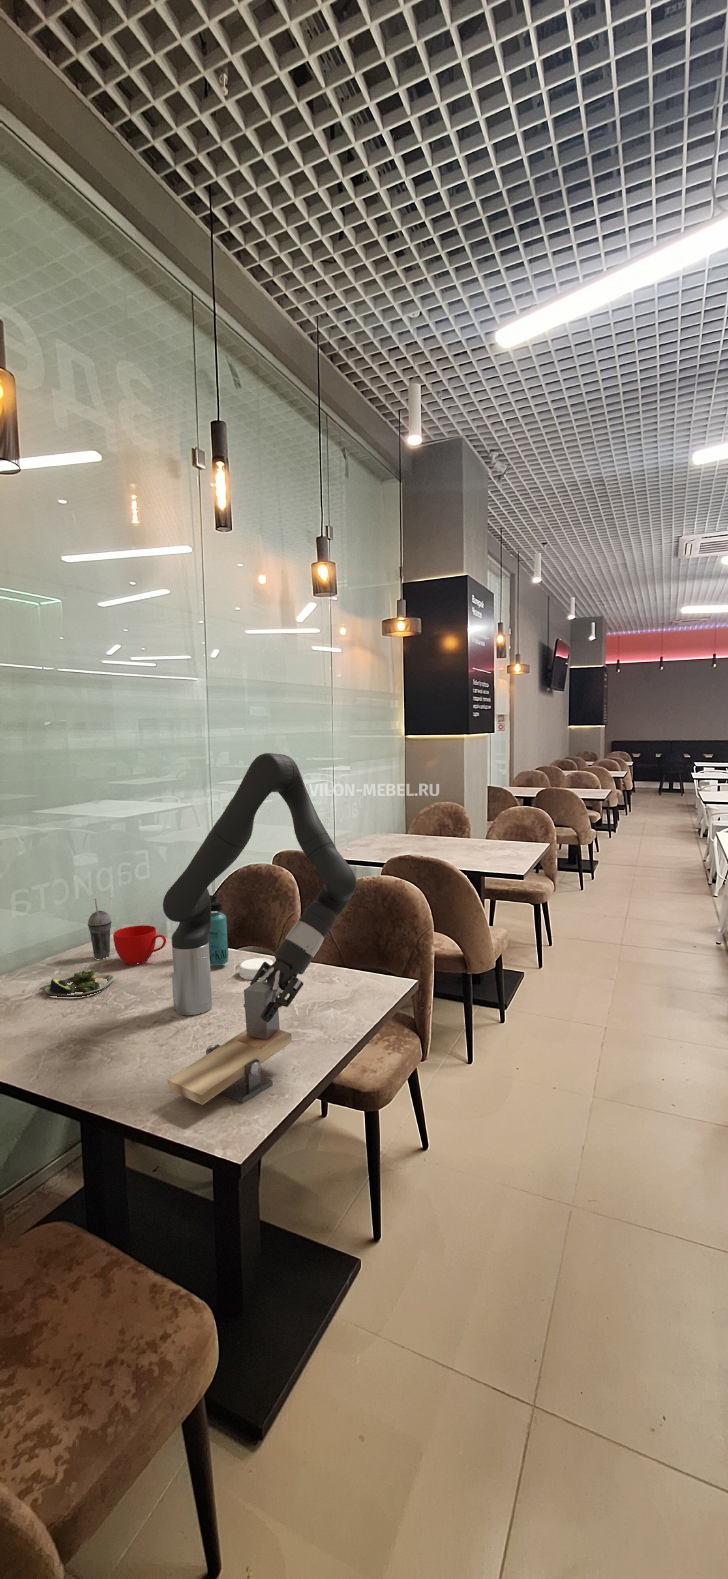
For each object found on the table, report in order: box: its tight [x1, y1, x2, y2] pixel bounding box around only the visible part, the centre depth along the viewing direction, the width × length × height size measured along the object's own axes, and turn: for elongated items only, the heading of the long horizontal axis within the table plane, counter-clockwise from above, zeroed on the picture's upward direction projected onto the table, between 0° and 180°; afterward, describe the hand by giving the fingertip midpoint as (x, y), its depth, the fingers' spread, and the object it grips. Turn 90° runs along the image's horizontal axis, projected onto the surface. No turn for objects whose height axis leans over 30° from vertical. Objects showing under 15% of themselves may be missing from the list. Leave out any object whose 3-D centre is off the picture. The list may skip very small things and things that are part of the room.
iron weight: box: [243, 980, 281, 1039], centre depth 141 cm, size 5×5×10 cm
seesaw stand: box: [205, 1044, 273, 1104], centre depth 135 cm, size 14×8×6 cm, turn 53°
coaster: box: [239, 957, 274, 981], centre depth 198 cm, size 10×10×4 cm
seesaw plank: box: [167, 1029, 293, 1106], centre depth 134 cm, size 10×24×2 cm, turn 143°
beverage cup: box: [87, 898, 112, 959], centre depth 217 cm, size 7×7×20 cm
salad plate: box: [38, 969, 115, 997], centre depth 193 cm, size 19×18×5 cm
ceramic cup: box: [112, 924, 167, 965], centre depth 213 cm, size 13×17×10 cm
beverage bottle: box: [209, 901, 229, 966], centre depth 205 cm, size 6×7×20 cm
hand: (255, 1014), depth 140 cm, fingers closed on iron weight, 7 cm apart
